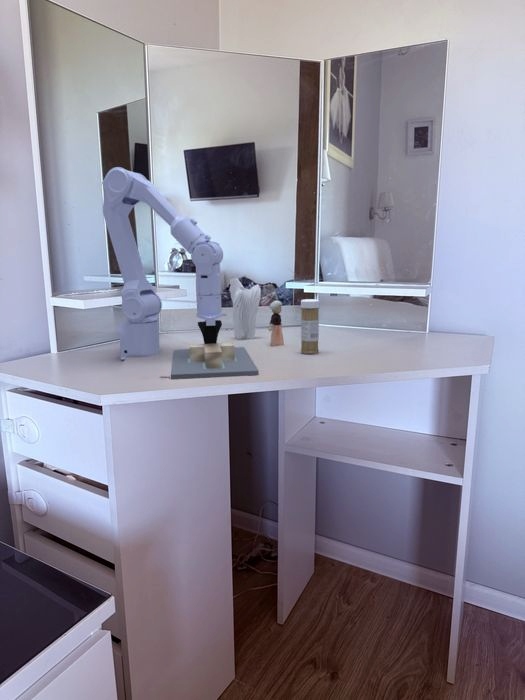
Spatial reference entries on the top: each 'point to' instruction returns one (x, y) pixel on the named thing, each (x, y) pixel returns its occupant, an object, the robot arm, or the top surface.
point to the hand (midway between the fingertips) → (210, 351)
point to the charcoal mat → (198, 369)
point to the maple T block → (212, 354)
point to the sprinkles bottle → (309, 326)
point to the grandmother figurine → (276, 324)
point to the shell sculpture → (244, 309)
